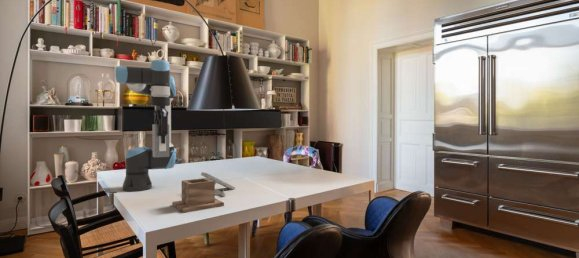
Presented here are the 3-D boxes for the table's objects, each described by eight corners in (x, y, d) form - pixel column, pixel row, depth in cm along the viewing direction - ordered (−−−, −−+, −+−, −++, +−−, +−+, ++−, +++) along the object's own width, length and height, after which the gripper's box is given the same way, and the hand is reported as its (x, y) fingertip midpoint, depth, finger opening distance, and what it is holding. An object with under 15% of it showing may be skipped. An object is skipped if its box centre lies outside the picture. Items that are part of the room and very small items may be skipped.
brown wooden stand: (172, 205, 151) (172, 180, 151) (210, 199, 163) (210, 176, 162) (183, 212, 139) (183, 186, 139) (223, 205, 151) (224, 181, 150)
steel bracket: (152, 156, 141) (152, 124, 140) (166, 155, 144) (166, 124, 144) (154, 157, 138) (154, 124, 137) (169, 156, 141) (169, 124, 141)
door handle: (223, 198, 187) (195, 185, 175) (229, 185, 189) (201, 172, 178) (240, 204, 174) (211, 190, 162) (246, 190, 176) (218, 175, 164)
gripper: (146, 97, 145) (147, 149, 146) (156, 95, 131) (157, 153, 132) (164, 97, 149) (164, 148, 150) (175, 96, 135) (175, 151, 136)
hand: (161, 150), depth 141 cm, fingers closed on steel bracket, 4 cm apart
